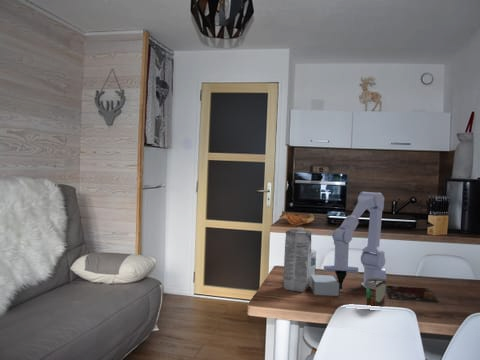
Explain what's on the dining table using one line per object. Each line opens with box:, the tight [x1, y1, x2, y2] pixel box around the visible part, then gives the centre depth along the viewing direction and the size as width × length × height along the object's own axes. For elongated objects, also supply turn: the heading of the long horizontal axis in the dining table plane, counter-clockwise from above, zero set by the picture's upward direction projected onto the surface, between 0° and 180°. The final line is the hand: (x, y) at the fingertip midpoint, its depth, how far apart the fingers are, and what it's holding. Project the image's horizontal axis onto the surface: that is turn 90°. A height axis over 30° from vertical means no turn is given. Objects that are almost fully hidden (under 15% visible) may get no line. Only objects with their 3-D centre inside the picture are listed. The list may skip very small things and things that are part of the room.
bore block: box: [309, 274, 341, 297], centre depth 179 cm, size 10×14×5 cm
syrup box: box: [309, 249, 317, 283], centre depth 198 cm, size 6×6×14 cm
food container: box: [365, 278, 388, 307], centre depth 161 cm, size 12×6×10 cm, turn 141°
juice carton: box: [283, 227, 312, 293], centre depth 180 cm, size 9×10×27 cm
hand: (340, 288), depth 176 cm, fingers closed
